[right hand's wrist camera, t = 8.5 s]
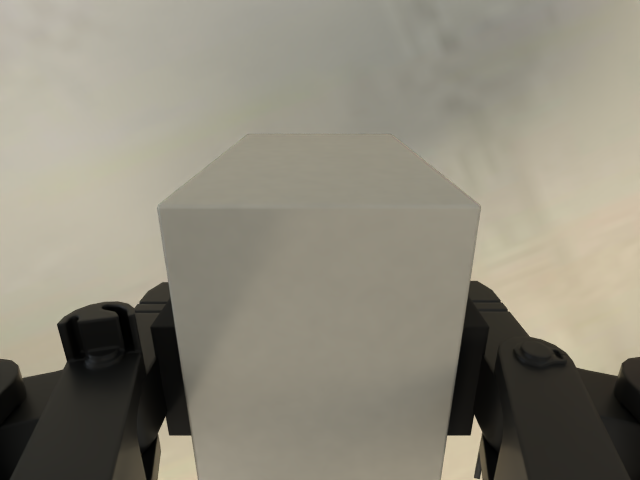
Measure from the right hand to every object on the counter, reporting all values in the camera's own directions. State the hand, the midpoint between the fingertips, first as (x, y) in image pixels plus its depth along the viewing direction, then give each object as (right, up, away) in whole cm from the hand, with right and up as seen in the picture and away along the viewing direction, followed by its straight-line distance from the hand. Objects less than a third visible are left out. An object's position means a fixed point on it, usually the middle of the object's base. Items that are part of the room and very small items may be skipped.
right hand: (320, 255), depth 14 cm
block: (0, 0, +1) cm, 1 cm away
